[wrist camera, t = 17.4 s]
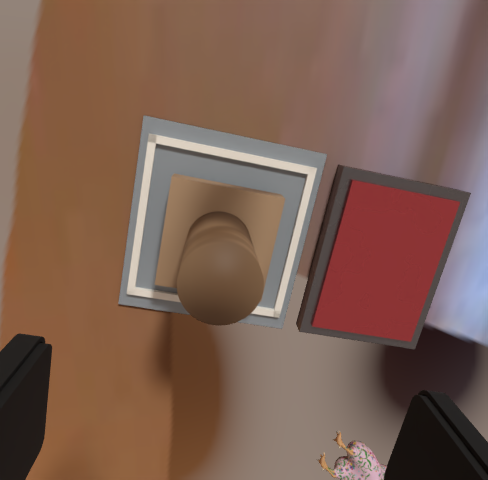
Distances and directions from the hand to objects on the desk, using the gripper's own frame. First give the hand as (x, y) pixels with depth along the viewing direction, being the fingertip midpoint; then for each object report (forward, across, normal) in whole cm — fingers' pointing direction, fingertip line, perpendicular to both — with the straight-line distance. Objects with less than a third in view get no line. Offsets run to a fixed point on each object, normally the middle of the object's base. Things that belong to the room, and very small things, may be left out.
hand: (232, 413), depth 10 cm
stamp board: (+18, 0, 0) cm, 18 cm away
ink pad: (+18, -11, 0) cm, 21 cm away
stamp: (+18, 0, 0) cm, 18 cm away
